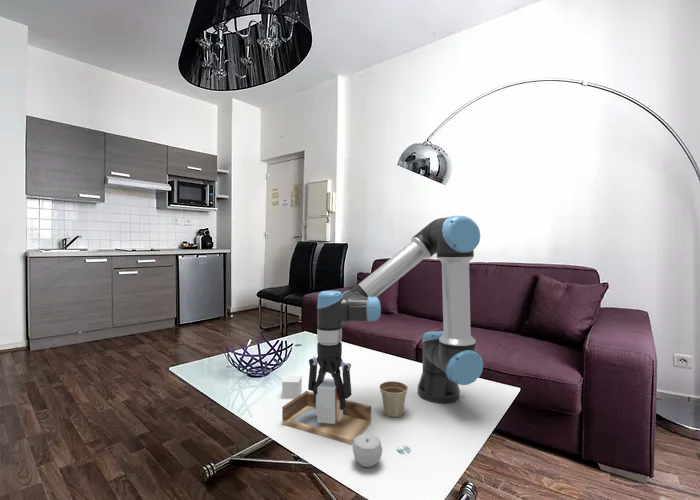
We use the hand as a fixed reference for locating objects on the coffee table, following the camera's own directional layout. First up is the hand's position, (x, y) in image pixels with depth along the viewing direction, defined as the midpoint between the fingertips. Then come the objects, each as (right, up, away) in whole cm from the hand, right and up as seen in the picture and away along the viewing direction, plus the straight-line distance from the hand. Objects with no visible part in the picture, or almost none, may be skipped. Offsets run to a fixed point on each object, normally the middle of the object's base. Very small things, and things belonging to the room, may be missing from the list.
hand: (329, 416), depth 107 cm
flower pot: (+21, -3, +8) cm, 22 cm away
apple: (+11, -3, -19) cm, 22 cm away
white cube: (-15, -2, +21) cm, 26 cm away
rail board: (-1, -3, +1) cm, 3 cm away
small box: (0, 0, 0) cm, 0 cm away
